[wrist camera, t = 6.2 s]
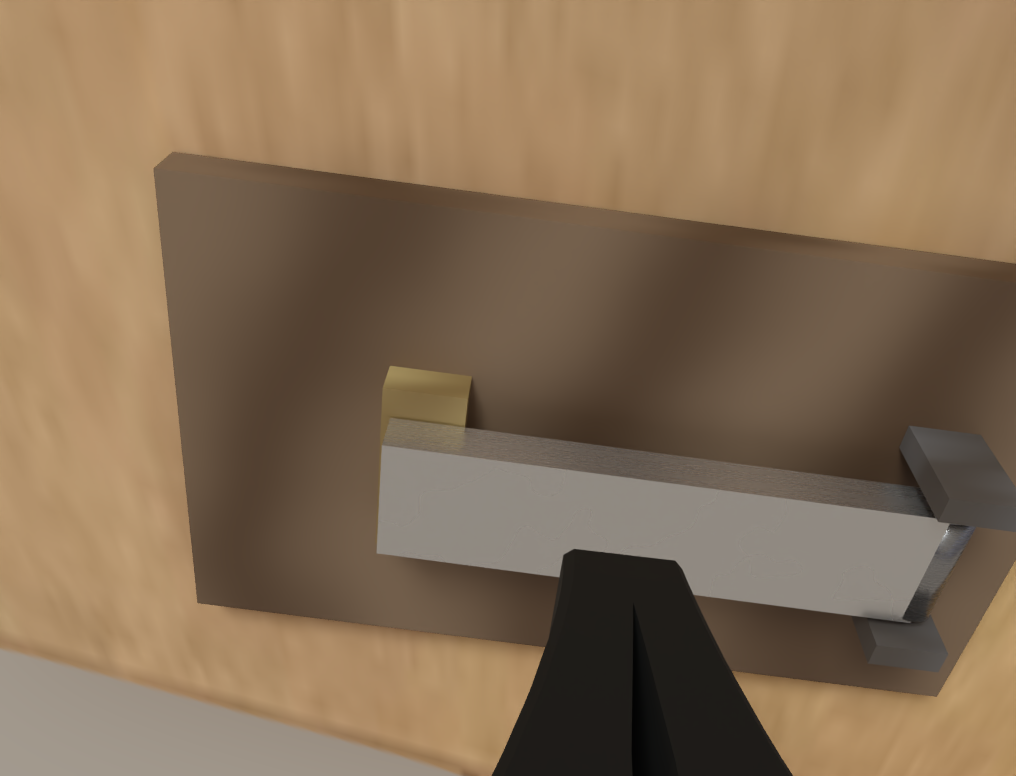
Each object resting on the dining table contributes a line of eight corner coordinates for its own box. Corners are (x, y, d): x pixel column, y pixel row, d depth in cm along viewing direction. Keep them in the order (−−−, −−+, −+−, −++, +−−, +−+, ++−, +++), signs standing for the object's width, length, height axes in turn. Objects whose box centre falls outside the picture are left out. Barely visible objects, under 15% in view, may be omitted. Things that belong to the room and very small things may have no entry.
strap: (969, 493, 19) (989, 527, 18) (918, 592, 21) (934, 628, 20) (391, 416, 19) (381, 446, 18) (385, 521, 21) (376, 554, 20)
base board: (1136, 280, 19) (1244, 367, 16) (924, 667, 25) (971, 780, 22) (172, 151, 18) (96, 216, 15) (210, 576, 25) (161, 679, 22)
